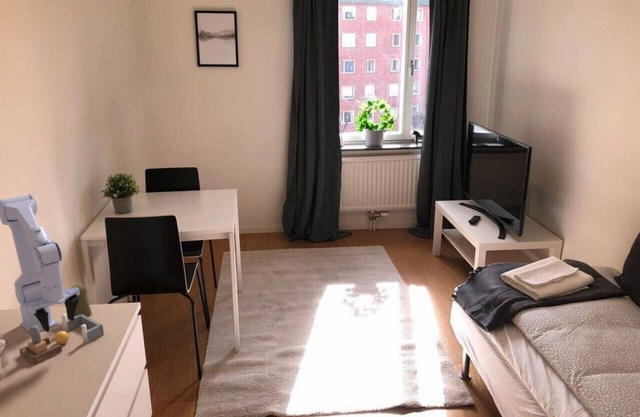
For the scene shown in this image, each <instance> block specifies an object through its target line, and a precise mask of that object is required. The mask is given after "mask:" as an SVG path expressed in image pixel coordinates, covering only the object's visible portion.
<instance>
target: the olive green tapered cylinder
mask: <svg viewBox="0 0 640 417" xmlns="http://www.w3.org/2000/svg"><path fill="white" fill-rule="evenodd" d="M75 287H76V288H78V289H79V292H80V295H78V296H77V297H79V302H78V304H77V307H76V310H75V315H74V317H75V316H77V315H80V314H83V315H85V316H86V317H88V318H90V317H91V316H92V315H93V312H92V309H91V306H90V302H89V299H88V296H87V293H88V288H87V286H86V285H85V284H82V283H80V284H79V283H77V284H75V285H73V286H71V288H70V289H72V288H75Z"/></svg>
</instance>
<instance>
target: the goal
mask: <svg viewBox="0 0 640 417" xmlns="http://www.w3.org/2000/svg"><path fill="white" fill-rule="evenodd" d="M61 321H62V327H63V331H65V332H67V333H69V332H70V331H73V330H74V329H76V328H79V327H80V328H81V334H82V341H83V344H85V345H86V344H88V343H90V342H92V341H94V340H96V339H97V338H99V337H102V336H105V332H104V325H103V324H101V322H98V321H95V319H91V318H90V317H86V316H85V315H83V314H80V315H77V316H75V317H74V320H73V321H71V320H69V319H68V317H67V313H62V314H61Z"/></svg>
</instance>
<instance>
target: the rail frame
mask: <svg viewBox="0 0 640 417" xmlns="http://www.w3.org/2000/svg"><path fill="white" fill-rule="evenodd" d="M41 339H42V340H43V341H45V342H46V344H47V346H48V345H50V344H51V341H50V338H49V337H48V336H46V337H44V338H41ZM61 352H63V347H62V344H58V343H57V345H55V346H52V347H50V348H47V350H46V351H44V352H41V353H39V354H37V355H33V354H32V353H30V351H29V346H28V345H26V346H24V347H22V348H19V354H20V356H22V357H23V358H24V359H26V360H27V361H29V362H30V363H32V364H33V365H37V364H38V363H41V362H43V361H45V360H47V359H49V358H51V357H53V356H56V355H57V354H59V353H61Z"/></svg>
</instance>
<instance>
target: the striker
mask: <svg viewBox="0 0 640 417" xmlns="http://www.w3.org/2000/svg"><path fill="white" fill-rule="evenodd" d="M29 333H30V338H31V339H30V340H28V341H27V346H29V351H30V353H32V354H33V355H37V354H39V353H41V352H44V351H46V350H48V345H47V344H46V342H45V341H43V340H42V339H43V338H42V336H41V331H39V326H38V325H33V326H31V327H30V331H29Z"/></svg>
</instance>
